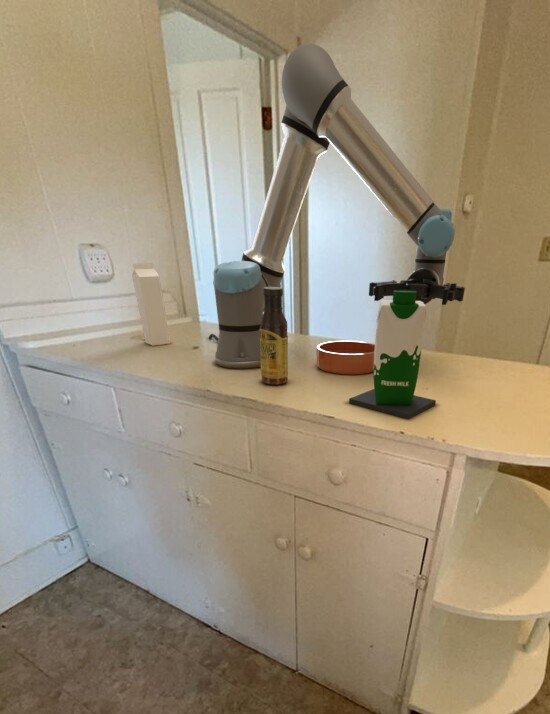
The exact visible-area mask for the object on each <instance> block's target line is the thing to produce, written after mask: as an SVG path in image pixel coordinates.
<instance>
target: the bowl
mask: <svg viewBox="0 0 550 714" xmlns="http://www.w3.org/2000/svg"><path fill="white" fill-rule="evenodd" d="M374 351H375V343H371V342H365V341H358V340H334V341H327V342H323V343H320V344H318V345H316V366H317V367H318V369H320V370H321V371H323V372H326V373H330V374H335V375H346V376H350V375H351V376H352V375H353V376H355V375H365V374H370V373H373V365H374Z"/></svg>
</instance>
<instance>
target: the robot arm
mask: <svg viewBox="0 0 550 714" xmlns="http://www.w3.org/2000/svg"><path fill="white" fill-rule="evenodd" d="M281 73H282V74H281V92H282V96H283V100H284V102H285V104H286V106H285V110H284V113H283V116H282V120H281V122H280V127H281V129H282V133H283V140H282V143H281V146H280V151H279V154H278V158H277V161H276V163H275V167H274V170H273V174H272V177H271V180H270V183H269V187H268V191H267V194H266V197H265V200H264V204H263V207H262V211H261V214H260V218H259V221H258V224H257V227H256V230H255V233H254V238H253V241H252V244H251V246H250V247H249V248H247V249H245V250H243V253H242V257H241V260H237V261H236V260H234V261H228V262H222V263H218V264H217V265H215V266H214V268H213V272H212V274H213V281H212V284H213V288H214V289H213V290H214V296H215V306H216V314H217V322H218V332H219V333H218V336H217V335H216V334H214V333H210V334H209V335H208V340H212V338H213V339H214V340H215V341H216V342H217V345H216V351H215V354H214V357H215V359H214V360H215V364H216V365H217V366H219V367H223V368H226V369H227V368H228V369H239V370H240V369H257V368H261V357H260V325H261V321H262V317H263V313H264V308H265V301H264V300H265V296H264V294H263V293H264V292H263V290H264V287H280V288H282V284H281V283H282V282H283V281H282V280H283V278H284V274H285V270H286V269H285V266H284V264H283V260H284V257H285V254H286V252H287V248H288V245H289V242H290V239H291V237H292V234H293V230H294V228H295V225H296V222H297V220H298V216H299V213H300V211H301V207H302V204H303V201H304V199H305V195H306V193H307V190H308V187H309V184H310V181H311V178H312V175H313V172H314V169H315V166H316V164H317V160H318V158H319V157H320V156H321V155H323V154H325V153H327V151H328V149H329V146H330V144H331V145H332V146H333V147H334V149H335V150H336V151H337V152H338V153H339V154H340V156H341V157H342V159H344V161H345V162H346V163H347V164H348V165H349V166H350V167H351V169H352V170H353V171H354V172H355V173H356V175H358V177H359V178H360V179H361V181H362V182H363V183H364V184H365V185H366V187H367V188H368V189H369V190H370V191H371V192H372V194H374V197H376V198H377V199H378V201H379V202H380V203H381V204H382V206H383V207H384V208H385V209H386V210H387V212H389V214H390V215H391V216H392V217H393V219H394V220H395V221H396V222H397V223H398V224H399V226H400V227H401V228H402V229H403V230H404V232H405V233H406V234H407V235H408V236H409V238H410V239H411V240H412V242H413V243H414V244H415V245H416V248H415V249H416V250H415V259H414V264H413V265H414V266H413V272H412V273H410V274H409V276H408V277H407V279H402V280H400V282H397V281H396V280H395V279H393V280H390V281H377V282H376V281H375V282H373V281H372V282H369V287H368V296H369V297H374V300H373V301H374V302H379V301H381V300H383V299H385V297H393V292H394V290H413V291H416V301H421V302H423V303H424V304H425V305H426V304H429V303H430V302H431V301H432V300H435V299H438V300H442V301H441V305H442V306H446V305H447V304H448V302H453V301H458V302H459V303H460V302H463V301H464V296H465V290H466V287H464V286H459V285H457V284H458V283H455V282H453V283H450V282H447V283H444V280H445V279H444V273H445V267H446V266H445V265H446V257H447V252H449V250H450V248H451V247H452V245H453V242H454V239H455V227H454V224H453V222H452V218H453V211H452V210H451V209H450V208H439V207H438V206H437V204H436V203H434V200H433V199H432V198H431V197H430V195H429V194H428V193H427V192H426V190H425V189H424V188H423V187H422V185H421V184H420V183H419V181H418V180H417V179H416V178H415V177H414V175H413V174H412V173H411V171H410V170H409V169H408V168H407V167H406V165H405V164H404V163H403V162H402V160H401V159H400V157H398V156H397V154H396V153H395V152H394V150H393V149H392V148H391V146H389V144H388V143H387V142H386V141H385V139H384V138H383V136H382V135H381V134H380V133H379V131H377V129H376V128H375V127H374V125H373V124H372V123H371V121H369V119H368V118H367V116H366V115H365V114H364V113H363V112H362V110H361V109H360V108H359V107H358V105H357V104H356V103H355V101H354V100H353V99H352V89H351V87H350V85H349V84H348V83H347V82H346V81H345V79H344V78H343V76H342V75H341V73H340V71H339V70H338V69H337V67H336V65H335V63H334V60H333V58H332V56H331V55H330V53H329V52H327V50H325V49H324V48H323V47H322V46H320V45H318V44H315V43H311V42H310V43H307V42H306V43H303V44H300V45H299V46H296V48H294V49H293V50H292V51H291V52H290V54H289V55H288V57H287V58H286V60H285V63H284V65H283V69H282V72H281Z"/></svg>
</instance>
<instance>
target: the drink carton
mask: <svg viewBox="0 0 550 714" xmlns="http://www.w3.org/2000/svg"><path fill="white" fill-rule="evenodd" d="M426 315H427V305H426V304H424V303H423V302H421V301H416V291H413V290H394V292H393V296H392V299H391V300H390V299H381V300H380V303H379V307H378V311H377V316H376V329H375V337H374V338H375V340H374V344H375V351H374V365H373V372H372V375H373V376H372V377H373V378H372V379H373V387H374V388H373V389H375V399H376V404H382V405H410V406H411V404H412V400H413V396H414V395H415V391H416V386H417V383H418V376H419V371H420V364H421V363H420V362H421V355H422V348H423V347H422V346H423V340H424V331H425V322H426V317H427V316H426Z"/></svg>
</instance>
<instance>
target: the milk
mask: <svg viewBox="0 0 550 714" xmlns="http://www.w3.org/2000/svg"><path fill="white" fill-rule="evenodd" d="M132 266H133V272H132V274H131V277H132V281H133V287H134V291H135V297H136V301H137V306H138V311H139V317H140V320H141V321H140V322H141V326H142V331H143V336H144V341H145V343H146V344H148V345H150V346H152V347H153V346H160V345H162V346H163V345H169V344H171V337H170V331H169V325H168V319H167V313H166V309H165V308H166V307H165V303H164V302H165V301H164V296H163V291H162V284H161V278H160V275H159V273H158V272H157V270H156V269H155V264H154V262H147V263H146V262H145V263H143V262H142V263H141V262H140V263H137V262H136V263H133V265H132Z"/></svg>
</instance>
